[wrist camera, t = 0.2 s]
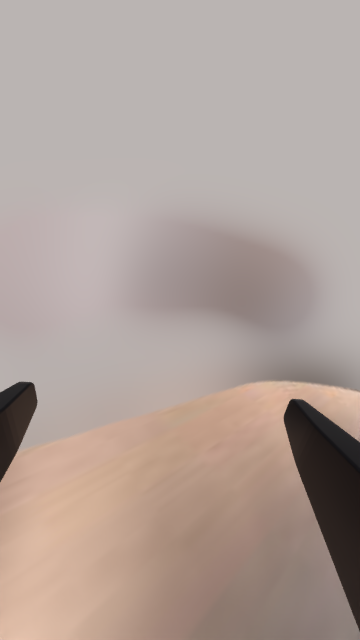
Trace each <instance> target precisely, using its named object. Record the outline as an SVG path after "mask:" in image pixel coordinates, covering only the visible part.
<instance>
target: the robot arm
mask: <svg viewBox="0 0 360 640" xmlns="http://www.w3.org/2000/svg"><path fill="white" fill-rule="evenodd" d="M36 406H37V397H36V391H35V386H34V384H33V383H31V382H18V383H16V384H15V385H13V386H11V387H9V388H7V389H6V390H4V391H2V392H0V482H1V480H2V478H3V477H4V475H5V473H6V471H7V469H8V468H9V466H10V464H11V462H12V460H13V458H14V457H15V455H16V453H17V451H18V449H19V446H20V444H21V442H22V440H23V437H24V435H25V433H26V430H27V428H28V425H29V423H30V421H31V419H32V416H33V414H34V412H35V409H36ZM284 424H285V427H286V431H287V434H288V438H289V442H290V445H291V449H292V453H293V456H294V460H295V463H296V466H297V469H298V472H299V474H300V477H301V479H302V482H303V485H304V487H305V490H306V492H307V495H308V498H309V500H310V503H311V505H312V508H313V511H314V513H315V516H316V519H317V521H318V524H319V526H320V529H321V532H322V534H323V537H324V539H325V542H326V545H327V547H328V550H329V552H330V555H331V558H332V560H333V563H334V566H335V568H336V571H337V573H338V576H339V579H340V581H341V584H342V586H343V589H344V592H345V594H346V597H347V599H348V602H349V605H350V607H351V610H352V613H353V615H354V618H355V620H356V623H357V626H358V628H359V631H360V442H359V441H357V440H356V439H355V438H353V437H352V436H351V435H349V434H348V433H347V432H345V431H344V430H343V429H341V428H340V427H339V426H337V425H336V424H335V423H333V422H332V421H331V420H329V419H328V418H327V417H325V416H324V415H323V414H321V413H320V412H319V411H317V410H316V409H315V408H313V407H312V406H311V405H309V404H308V403H307V402H305V401H304V400H301V399H291V400H290V401H289V404H288V406H287V409H286V411H285V414H284Z"/></svg>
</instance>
